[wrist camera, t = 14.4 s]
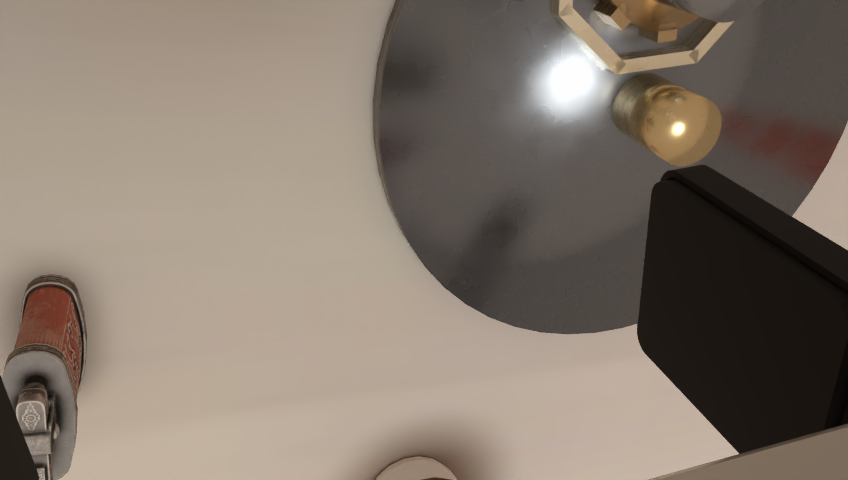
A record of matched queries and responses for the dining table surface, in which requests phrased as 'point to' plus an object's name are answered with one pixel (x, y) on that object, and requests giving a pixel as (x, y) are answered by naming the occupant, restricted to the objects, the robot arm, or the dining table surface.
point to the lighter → (48, 372)
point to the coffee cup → (416, 470)
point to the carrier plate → (588, 139)
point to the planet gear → (669, 14)
